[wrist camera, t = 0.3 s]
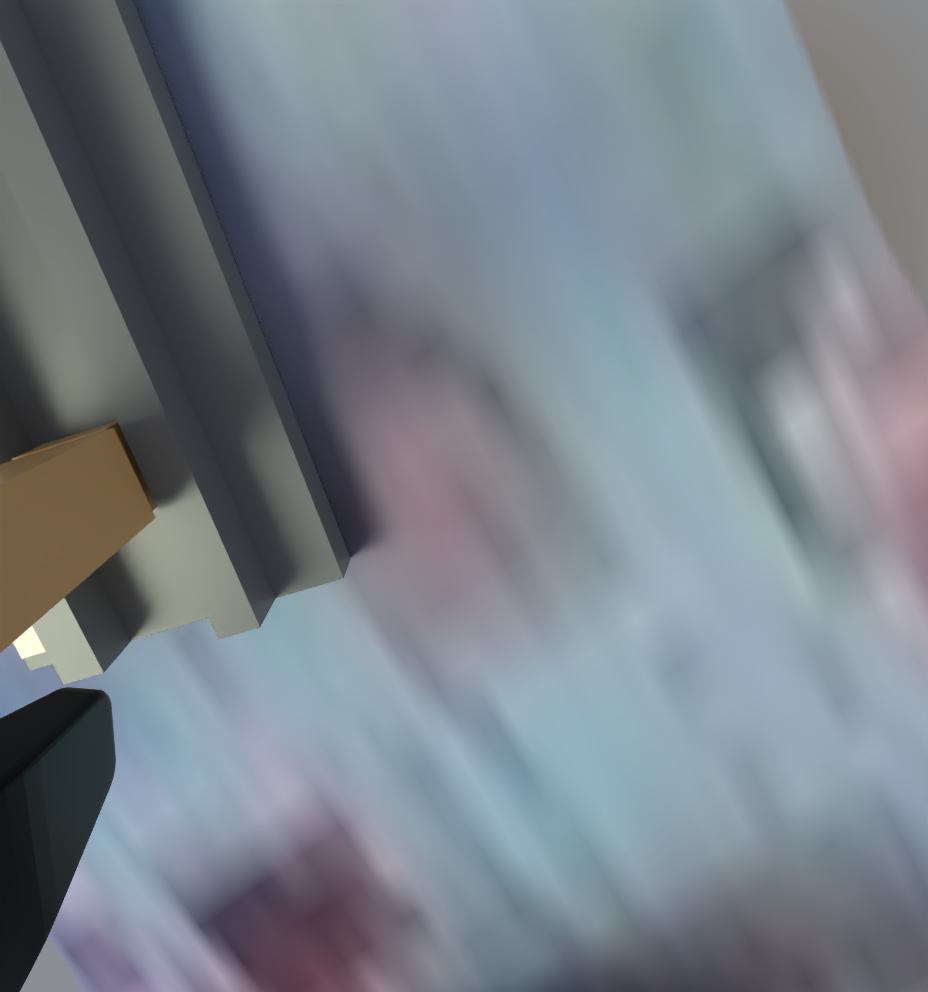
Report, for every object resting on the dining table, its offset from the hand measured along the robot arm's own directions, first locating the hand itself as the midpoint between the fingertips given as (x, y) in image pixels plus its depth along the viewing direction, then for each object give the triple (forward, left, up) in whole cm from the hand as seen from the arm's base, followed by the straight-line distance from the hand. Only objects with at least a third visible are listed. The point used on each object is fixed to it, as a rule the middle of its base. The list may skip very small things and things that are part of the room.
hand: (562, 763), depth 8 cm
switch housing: (0, +12, -15) cm, 19 cm away
